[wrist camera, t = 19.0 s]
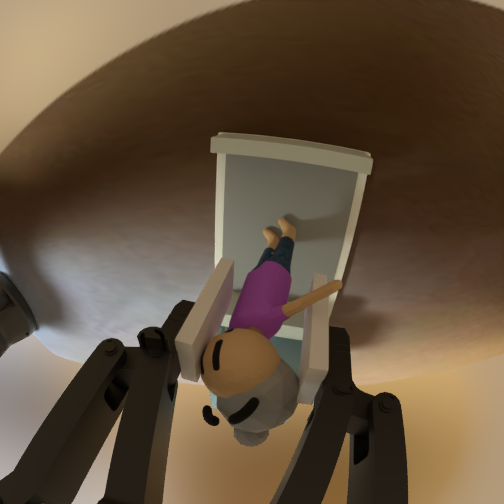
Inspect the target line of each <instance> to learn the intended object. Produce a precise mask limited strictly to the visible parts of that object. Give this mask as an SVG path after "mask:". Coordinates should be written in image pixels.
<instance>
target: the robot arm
mask: <svg viewBox="0 0 504 504" xmlns="http://www.w3.org/2000/svg"><path fill="white" fill-rule="evenodd" d="M233 278H234V260H233V259H228V258H222V257H221V259H220V261H219V263H218V264H217V266H216V268H215V269H214V271H213V273H212V275H211V276H210V278H209V280H208V282H207V283H206V285H205V287H204V289H203V290H202V292H201V294H200V296H199V297H198V299H197V301H196V303H195V302H191V301H186V300H182V301H181V302H179V303H178V304H177V305H175V307H174V308H173V310H172V312H171V314H170V315H169V316H168V319H166V321H165V323H164V324H163V326H162V327H161V328H159V327H148V328H145V329H143V330H142V331H140V332H139V334H138V335H137V338H138V341H139V344H140V347H124V345H123V343H122V342H121V341H120V340H118V339H114V338H110V339H106V340H104V341H102V342H101V343H100V344H99V345H98V346H97V348H96V349H95V350H94V352H93V353H92V354H91V355H90V357H89V358H88V359H87V361H86V362H85V363H84V365H83V366H82V368H81V369H80V370H79V372H78V373H77V374H76V376H75V377H74V379H73V380H72V381H71V383H70V384H69V385H68V387H67V388H66V390H65V391H64V392H63V394H62V395H61V397H60V398H59V400H58V401H57V403H56V404H55V406H54V407H53V408H52V410H51V411H50V413H49V414H48V416H47V417H46V419H45V420H44V422H43V423H42V425H41V426H40V428H39V430H38V431H37V433H36V434H35V436H34V437H33V439H32V441H31V442H30V444H29V445H28V447H27V449H26V451H25V452H24V454H23V455H22V457H21V459H20V460H19V462H18V464H17V466H16V467H15V469H14V471H13V472H11V473H10V474H9V475H7V476H6V477H4V478H3V479H2V480H0V504H71V503H72V502H73V500H74V498H75V496H76V495H77V493H78V491H79V489H80V487H81V485H82V483H83V481H84V479H85V477H86V475H87V473H88V472H89V470H90V468H91V466H92V464H93V462H94V460H95V459H96V457H97V455H98V453H99V451H100V449H101V447H102V446H103V444H104V442H105V440H106V438H107V436H108V435H109V433H110V431H111V429H112V427H113V426H114V424H115V422H116V420H117V419H118V417H119V415H120V414H121V412H122V410H123V412H122V417H121V421H120V424H119V428H118V432H117V436H116V441H115V445H114V449H113V454H112V459H111V463H110V469H109V473H108V479H107V484H106V490H105V494H104V497H103V498H102V499H101V500H100V501H98V503H97V504H162V502H163V492H164V480H165V472H166V464H167V456H168V448H169V441H170V433H171V426H172V419H173V413H174V405H175V399H176V394H177V388H178V381H177V378H178V376H179V374H180V372H181V376H182V378H184V379H187V380H191V381H194V382H198V379H199V377H200V374H201V372H200V361H201V357H202V354H203V351H204V349H205V347H206V346H207V345H208V343H209V342H210V341H211V340H212V339H213V338H214V337H215V336H217V334H218V331H219V329H220V326H221V324H222V322H223V319H224V317H225V314H226V312H227V310H228V307H229V305H230V302H231V300H232V298H233ZM325 284H327V275H324V274H317V273H314V274H313V279H312V283H311V287H310V291H309V293H310V292H312V291H314V290H316V289H318V288H319V287H321V286H323V285H325ZM35 330H36V321H35V318H34V316H33V314H32V312H31V310H30V308H29V306H28V304H27V303H26V301H25V299H24V298H23V296H22V295H21V293H20V292H19V290H18V289H17V288H16V287H15V285H14V284H13V283H12V282H11V281H10V280H9V279H8V278H7V277H6V276H5V275H4V274H2V273H0V357H1V356H2V355H3V354H4V353H5V351H6V350H7V349H8V348H9V347H10V346H11V345H13V344H14V343H16V342H18V341H20V340H22V339H24V338H26V337H28V336H30V335H31V334H32V333H33V332H34V331H35ZM298 382H299V391H298V396H297V403H303V404H311V405H312V403H313V401H314V408H313V410H312V412H311V414H310V416H309V417H308V419H307V420H308V422H307V424H306V427H305V429H304V432H303V434H302V437H301V439H300V441H299V444H298V446H297V448H296V450H295V453H294V455H293V457H292V460H291V462H290V464H289V466H288V468H287V470H286V473H285V475H284V477H283V479H282V481H281V483H280V485H279V487H278V489H277V491H276V493H275V495H274V497H273V499H272V500H271V502H270V504H321V502H322V500H323V498H324V495H325V493H326V490H327V488H328V485H329V482H330V480H331V477H332V474H333V471H334V469H335V466H336V463H337V460H338V457H339V454H340V451H341V447H342V444H343V441H344V437H345V434H346V432H347V433H349V434H350V457H349V460H350V461H349V480H348V495H347V504H408V476H407V458H406V445H405V435H404V426H403V418H402V410H401V404H400V401H399V400H398V398H397V397H396V396H395V395H393V394H391V393H387V392H383V393H379V394H378V395H376V396H373V395H370V394H367V393H365V392H363V391H361V390H359V389H358V388H357V387H356V386H355V384H354V382H353V381H352V372H351V354H350V340H349V335H348V333H347V332H346V330H345V328H338V327H331V326H329V318H328V296H327V297H326V298H324V299H322V300H320V301H318V302H316V303H314V304H312V305H311V306H309V307H307V308H305V316H304V327H303V338H302V349H301V358H300V367H299V376H298ZM123 408H124V409H123Z"/></svg>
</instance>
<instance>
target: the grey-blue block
mask: <svg viewBox="0 0 504 504" xmlns="http://www.w3.org/2000/svg"><path fill="white" fill-rule="evenodd" d="M269 341H270V342H271V343H272V344H273V346H274V347H275V348H276V350H277V352H278V354H279V357H280V358H281V359H283V360H284V361H285V362H286V363H287V364H288V365H289V366H290V367H291V368H292V369H293V370H294V372H295V374H296V375H297V377H298V376H299V367H300V358H301V349H302V340H295V339H289V338H283V337H277V336H273V337H272V338H271V339H269ZM210 394H211V395H210V396H211V407H214V408H217V396H215V395H214V394H213V393H212V392H211V391H210ZM287 421H288V420H287ZM287 421H286V422H287Z"/></svg>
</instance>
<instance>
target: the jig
mask: <svg viewBox="0 0 504 504" xmlns="http://www.w3.org/2000/svg"><path fill="white" fill-rule="evenodd" d="M210 153H217V174H216V210H215V268H216V266H217V264H218V263H219V261H220V259H221V257H222V258H228V259H233V260H234V278H233V298H232V300H231V302H230V305H229V307H228V310H227V312H226V314H225V317H224V319H223V322H222V324H221V326H220V329H219V331H218V334H217V335H219V334H221V333H223V332H225V331H227V330H228V329H229V322H230V319H231V316H232V313H233V311H234V308H235V306H236V303H237V301H238V298H239V296H240V293H241V290H242V288H243V285H244V282H245V279H246V277H247V274H248V273H249V272H250V271H252V269H254V268H255V267H256V266H257V264H258V262H259V260H260V258H261V256H262V254H263V252H264V250H265V249H266V247H267V243H268V240H267V238H266V237H265V236H264V234H263V230H264V229H265V228H267V229H269V230H271V231H272V232H274V233H275V234H276V236H277V237H278V238H279V240H280V239H281V238H282V235H283V232H282V229H281V227H280V225H279V224H278V219H279V218H280V217H282V218H284V219H285V220H287V221H288V222H289V223H290V224H291V225H292V226H294V227H295V228H296V237H295V241H294V244H295V245H294V250H293V255H292V261H291V274H290V275H291V279H292V282H291V287H290V292H289V296H288V301H287V303H289V302H292V301H294V300H296V299H298V298H300V297H302V296H304V295H306V294H308V293H309V291H310V287H311V283H312V279H313V274H314V273H317V274H324V275H327V283H329V282H331V281H333V280H340V281H341V280H342V277H343V273H344V270H345V266H346V263H347V259H348V255H349V252H350V248H351V244H352V240H353V236H354V232H355V228H356V224H357V220H358V215H359V211H360V207H361V202H362V198H363V193H364V188H365V183H366V178H367V174H368V175H371V170H372V164H373V159H372V158H371V157H370V156H371V153H369V152H365V151H360V150H356V149H351V148H346V147H340V146H335V145H329V144H323V143H317V142H311V141H304V140H297V139H290V138H282V137H273V136H264V135H253V134H241V133H227V132H219V133H218V135H217V136H214V137H211V150H210ZM337 293H338V291H337V292H335V293H333V294H331V295H329V296H328V318H330V315H331V312H332V309H333V306H334V303H335V300H336V297H337ZM304 316H305V309H304V310H302V311H300V312H298V313H296V314H294V315H293V316H291V317H290V318H289V319H287V320H286V321H284V322H283V324H282V326H281V328H280V330H279V331H278V332H277V334H275V335H274V336H277V337H283V338H289V339H295V340H302V338H303V327H304Z"/></svg>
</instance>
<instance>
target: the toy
mask: <svg viewBox="0 0 504 504" xmlns="http://www.w3.org/2000/svg"><path fill="white" fill-rule="evenodd" d="M278 224H279V225H280V227H281V229H282V232H283V235H282V238H281V239H280V240H279V238H278V237H277V236H276V234H275V233H274V232H272V231H271V230H269V229H267V228H265V229H264V230H263V234H264V236H265V237H266V238H267V240H268V243H267V247H266V249H265V250H264V252H263V254H262V256H261V258H260V260H259V262H258V264H257V266H256V267H255V268H254V269H252V271H250V272H249V273H248V274H247V277H246V279H245V282H244V285H243V288H242V290H241V293H240V296H239V298H238V301H237V303H236V306H235V308H234V311H233V313H232V316H231V319H230V322H229V329H228V330H227V331H225V332H223V333H221V334H219V335H217V336H215V337H214V338H213V339H212V340H211V341H210V342H209V343H208V345H207V346H206V347H205V349H204V351H203V354H202V357H201V361H200V372H201V378H202V380H203V382H204V383H205V385H206V386H207V388H208V389H209V390H210V391H211V392H212V393H213V394H214V395H215V396H217V408H218V410H219V411H220V412H221V413H222V415H223V416H224V417H225V418H226V420H227V421H228V422H229V423H230V425H231V426H232V427H234V437H235V438H236V439H237V440H238V441H239V443H240V444H242V445H245V446H250V447H251V446H257V445H259V444H261V443H263V442H264V441H265V440H266V439H267V437H268V435H269V429H272V428H275V427H277V426H279V425H282V424H284V423H285V422H286V421H287V420H288V419H289V418H290V417H291V416H292V414H293V413H294V411H295V409H296V407H297V405H298V403H297V396H298V391H299V382H298V377H297V375H296V374H295V372H294V370H293V369H292V368H291V367H290V366H289V365H288V364H287V363H286V362H285V361H284V360H283V359H281V358H280V357H279V354H278V352H277V350H276V348H275V347H274V346H273V344H272V343H271V342H270V341H269V339H271V338H272V337H273V336H274V335H275V334H277V332H278V331H279V330H280V328H281V326H282V324H283V322H284V321H286V320H287V319H289V318H290V317H291V316H293V315H294V314H296V313H298V312H300V311H302V310H304V309H305V308H307V307H309V306H311V305H312V304H314V303H316V302H318V301H320V300H322V299H324V298H326V297H327V296H329V295H331V294H333V293H335V292H337V291H338V290H340V289H341V288H342V281H340V280H333V281H331V282H329V283H327V284H325V285H323V286H321V287H319V288H318V289H316V290H314V291H312V292H310V293H308V294H306V295H304V296H302V297H300V298H298V299H296V300H294V301H292V302H289V303H287V301H288V296H289V292H290V287H291V282H292V279H291V275H290V274H291V261H292V255H293V250H294V245H295V244H294V241H295V237H296V228H295V227H294V226H292V225H291V224H290V223H289V222H288V221H287V220H285V219H284V218H282V217H280V218H279V219H278ZM202 412H203V417H204V420H205V421H206V422H207V423H208V424H210V425H212V426H217V425H218V424H219V418H217V417H216V416H213V414H212V409H211V407H210V406H208V405H206V406H204V407H203V411H202Z"/></svg>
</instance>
